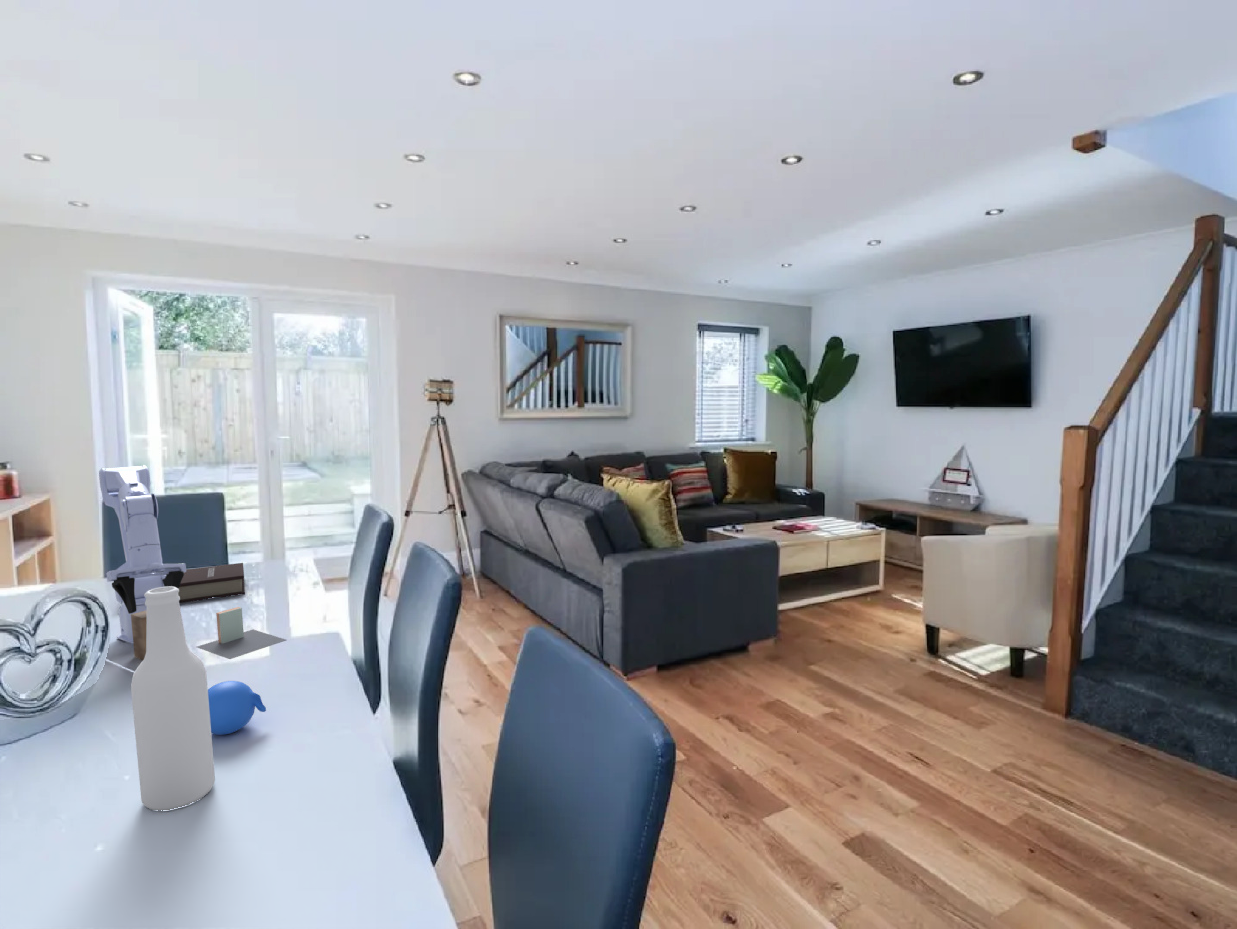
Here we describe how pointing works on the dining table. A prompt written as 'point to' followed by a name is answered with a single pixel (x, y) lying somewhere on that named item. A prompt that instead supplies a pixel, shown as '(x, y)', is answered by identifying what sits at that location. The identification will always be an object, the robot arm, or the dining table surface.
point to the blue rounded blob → (232, 706)
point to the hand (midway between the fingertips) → (152, 609)
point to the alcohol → (171, 711)
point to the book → (212, 582)
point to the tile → (230, 625)
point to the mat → (242, 644)
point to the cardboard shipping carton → (139, 633)
